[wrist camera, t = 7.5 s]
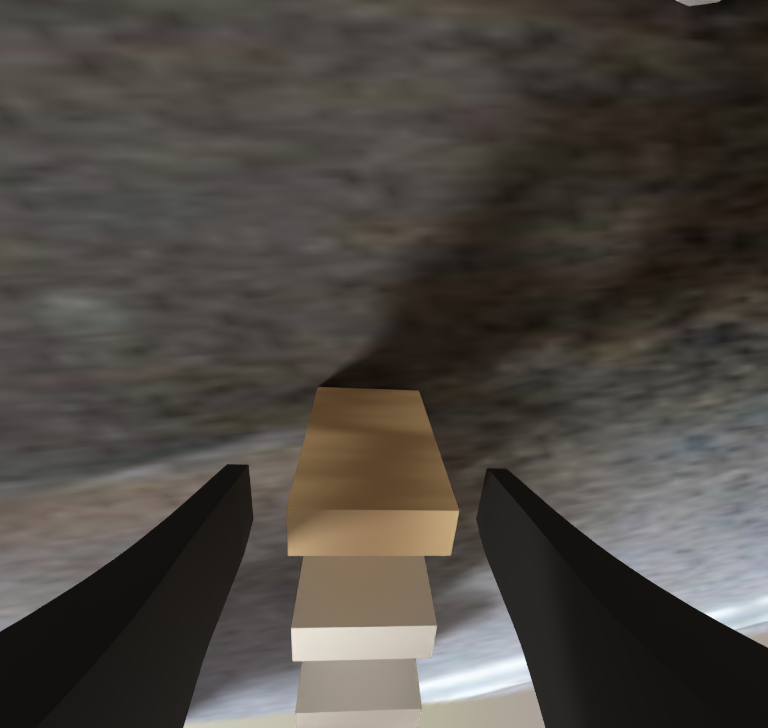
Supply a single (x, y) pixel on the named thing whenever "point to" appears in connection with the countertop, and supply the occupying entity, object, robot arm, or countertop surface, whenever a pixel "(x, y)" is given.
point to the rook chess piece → (696, 2)
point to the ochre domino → (370, 479)
